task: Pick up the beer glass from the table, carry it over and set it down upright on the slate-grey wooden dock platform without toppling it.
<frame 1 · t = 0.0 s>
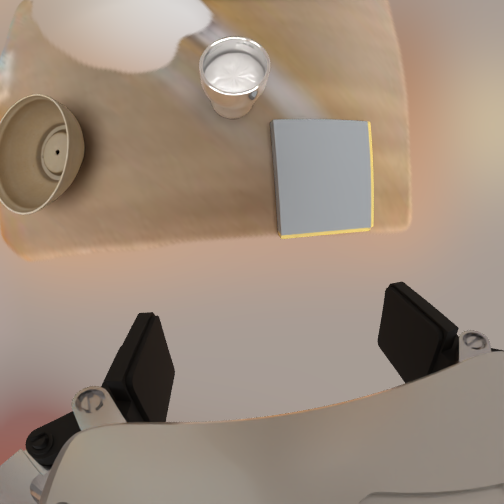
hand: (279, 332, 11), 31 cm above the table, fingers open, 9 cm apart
dock: (320, 174, 39), on the table
planter bowl: (63, 152, 35), on the table
beer glass: (232, 99, 35), on the table
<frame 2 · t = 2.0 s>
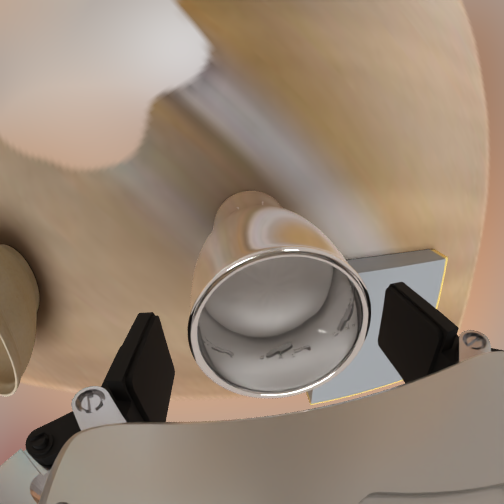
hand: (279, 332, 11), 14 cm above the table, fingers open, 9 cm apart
dock: (368, 324, 28), on the table
planter bowl: (14, 281, 23), on the table
beer glass: (250, 225, 23), on the table
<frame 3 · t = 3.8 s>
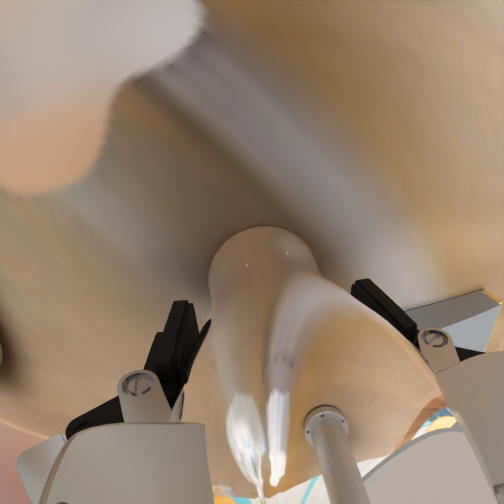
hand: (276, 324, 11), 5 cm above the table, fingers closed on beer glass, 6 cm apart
dock: (403, 382, 20), on the table
beer glass: (262, 277, 16), on the table, touching gripper
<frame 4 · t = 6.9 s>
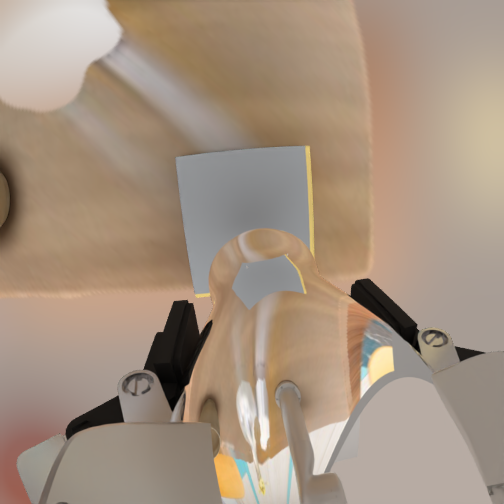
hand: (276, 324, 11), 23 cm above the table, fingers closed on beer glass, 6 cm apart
dock: (245, 217, 33), on the table
beer glass: (263, 278, 16), point 19 cm above the table, touching gripper
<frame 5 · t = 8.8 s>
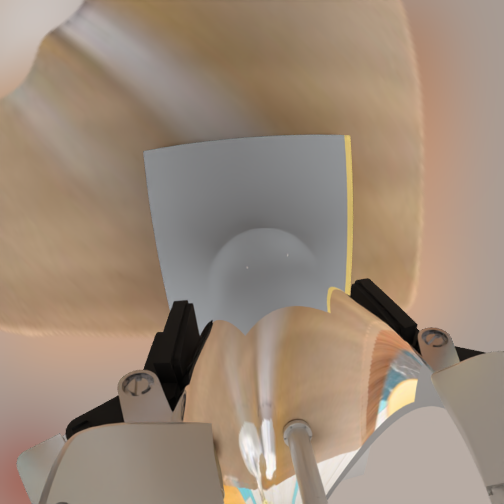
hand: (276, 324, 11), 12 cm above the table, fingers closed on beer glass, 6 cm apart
dock: (251, 240, 23), on the table
beer glass: (263, 278, 16), point 7 cm above the table, touching gripper
when the fingers open (9 cm above the table, at t = 10.4 s): beer glass drops 1 cm, resting on dock.
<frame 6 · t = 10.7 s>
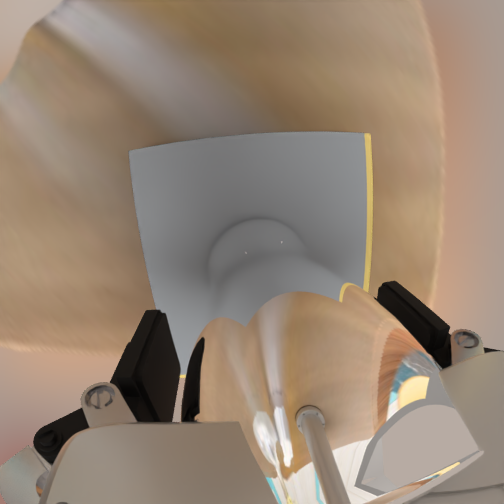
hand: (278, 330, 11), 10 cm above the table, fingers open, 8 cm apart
dock: (255, 253, 20), on the table
beer glass: (258, 266, 17), point 3 cm above the table, touching dock
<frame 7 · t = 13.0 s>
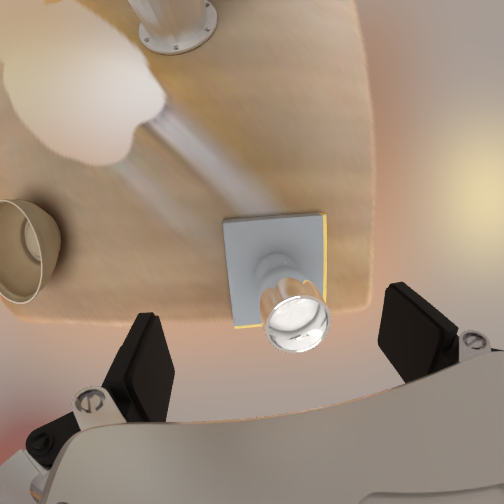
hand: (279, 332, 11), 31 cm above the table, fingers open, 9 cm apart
dock: (274, 267, 43), on the table
planter bowl: (43, 236, 39), on the table
beer glass: (276, 272, 40), point 3 cm above the table, touching dock
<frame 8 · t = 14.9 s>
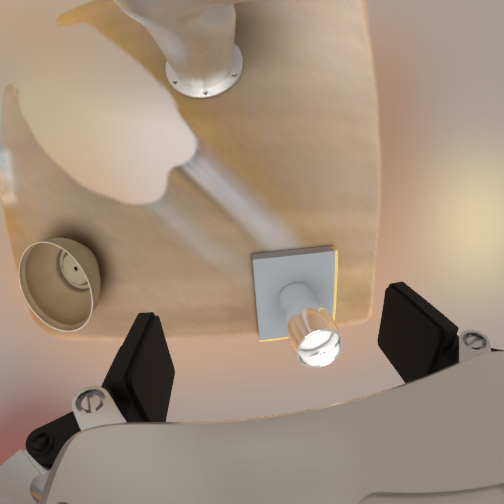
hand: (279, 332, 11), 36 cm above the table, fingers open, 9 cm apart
dock: (292, 291, 51), on the table
planter bowl: (80, 265, 46), on the table
beer glass: (295, 297, 48), point 3 cm above the table, touching dock
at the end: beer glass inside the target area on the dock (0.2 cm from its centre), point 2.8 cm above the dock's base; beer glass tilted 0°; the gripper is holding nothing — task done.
